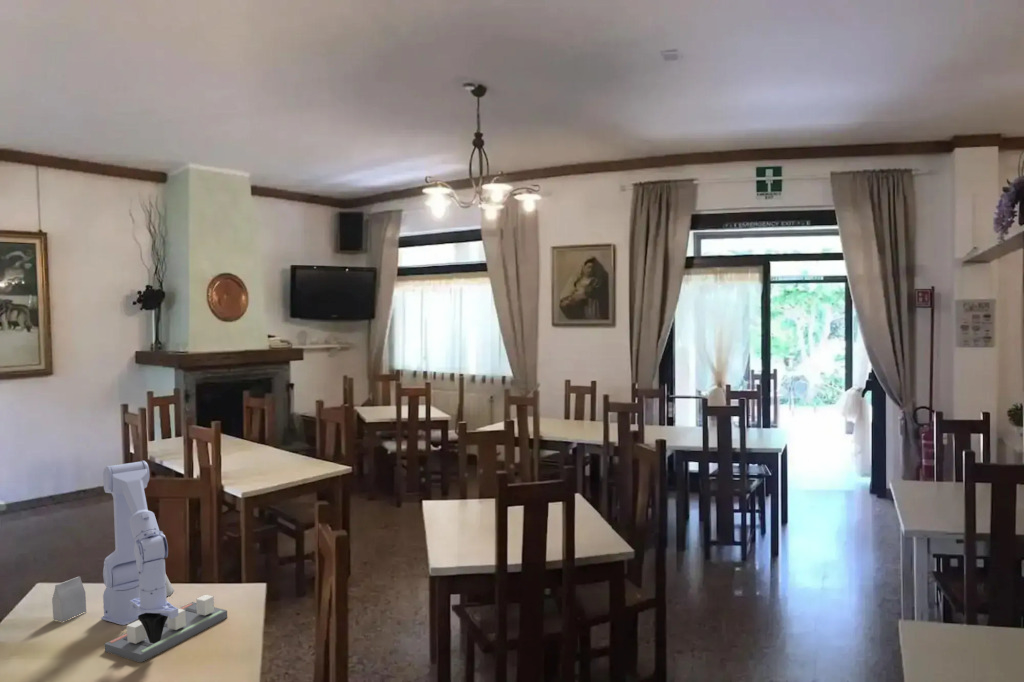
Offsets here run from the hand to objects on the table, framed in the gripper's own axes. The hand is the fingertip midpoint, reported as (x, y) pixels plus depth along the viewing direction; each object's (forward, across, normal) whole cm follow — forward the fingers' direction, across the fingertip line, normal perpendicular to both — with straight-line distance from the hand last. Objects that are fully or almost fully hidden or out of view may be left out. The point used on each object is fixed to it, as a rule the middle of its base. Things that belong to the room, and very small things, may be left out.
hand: (155, 641), depth 174 cm
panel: (+3, -6, +9) cm, 12 cm away
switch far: (+1, -4, +18) cm, 18 cm away
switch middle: (+1, -4, +9) cm, 10 cm away
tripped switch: (+1, -6, 0) cm, 7 cm away
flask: (+4, -30, +25) cm, 39 cm away
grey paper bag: (+4, -40, +5) cm, 41 cm away
